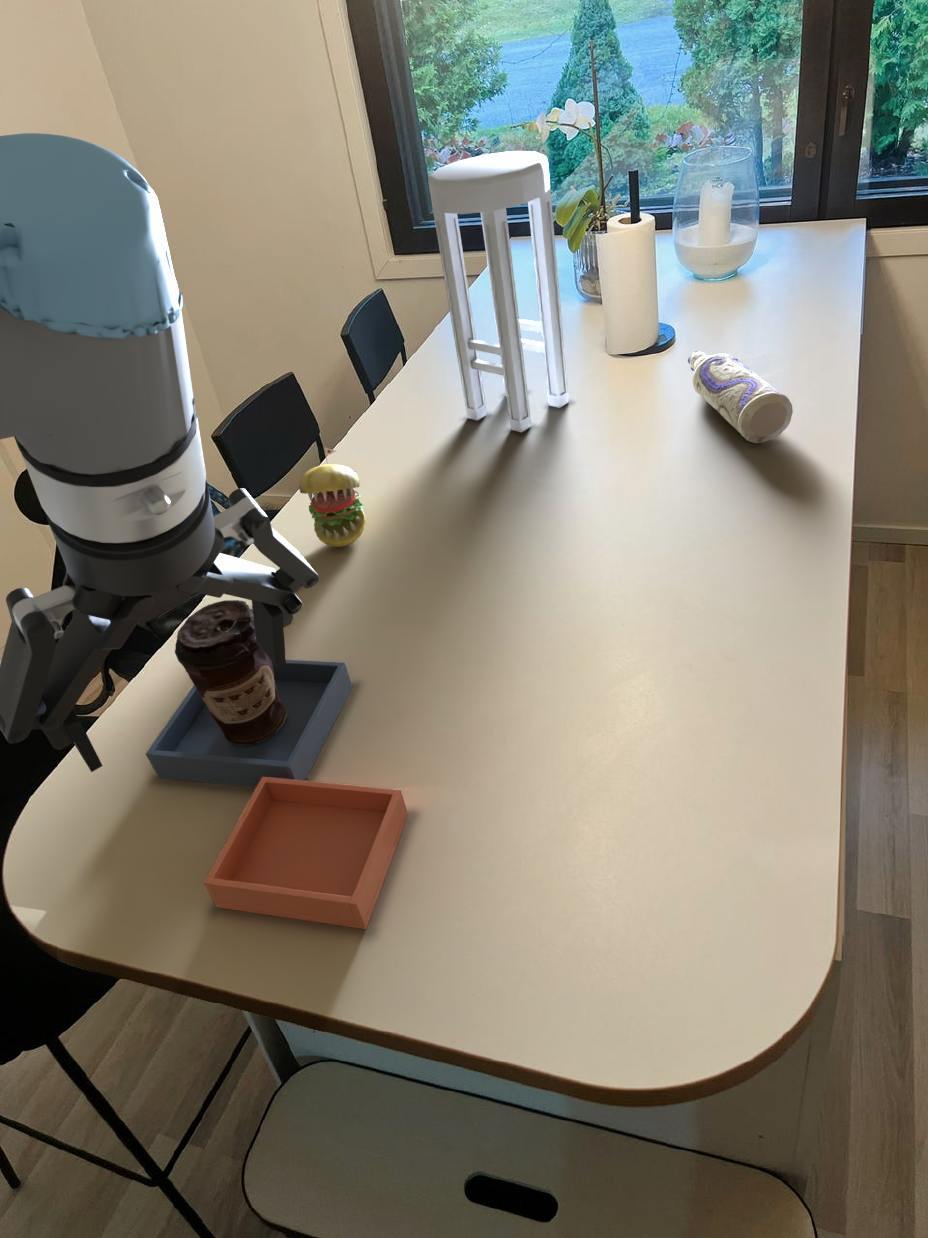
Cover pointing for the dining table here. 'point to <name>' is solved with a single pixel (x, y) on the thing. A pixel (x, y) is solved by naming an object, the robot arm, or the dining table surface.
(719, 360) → the decorative bottle
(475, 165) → the stool
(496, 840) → the dining table surface
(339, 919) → the terracotta tray
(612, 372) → the dining table surface
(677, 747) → the dining table surface
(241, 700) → the labeled brown jar
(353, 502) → the hamburger
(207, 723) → the slate tray
